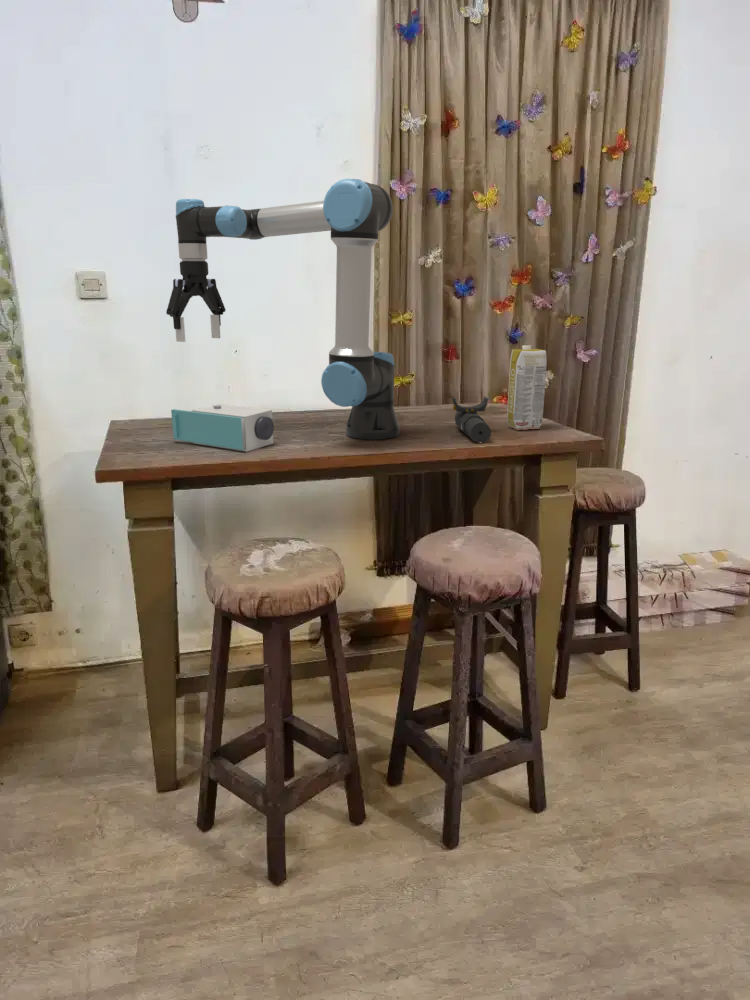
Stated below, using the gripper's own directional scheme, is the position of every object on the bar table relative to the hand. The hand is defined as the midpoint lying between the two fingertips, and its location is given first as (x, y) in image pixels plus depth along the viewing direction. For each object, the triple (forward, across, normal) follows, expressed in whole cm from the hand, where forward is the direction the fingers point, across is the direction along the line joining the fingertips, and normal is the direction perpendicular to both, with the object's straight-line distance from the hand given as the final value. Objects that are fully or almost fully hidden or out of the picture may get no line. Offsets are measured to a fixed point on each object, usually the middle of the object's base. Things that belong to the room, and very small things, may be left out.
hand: (199, 340), depth 205 cm
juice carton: (+26, -51, +78) cm, 97 cm away
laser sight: (+26, -35, +69) cm, 81 cm away
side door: (+25, +17, +18) cm, 35 cm away
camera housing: (+25, +10, +20) cm, 34 cm away
